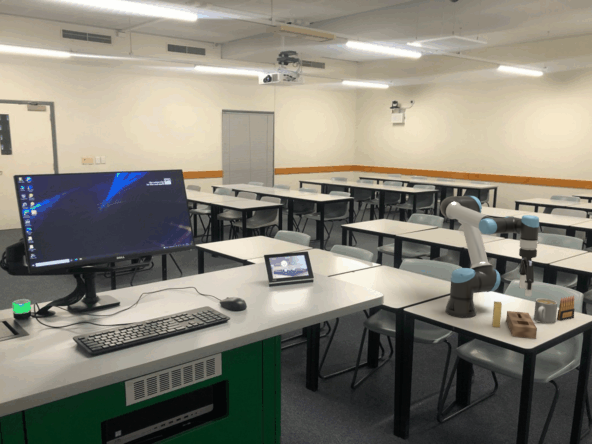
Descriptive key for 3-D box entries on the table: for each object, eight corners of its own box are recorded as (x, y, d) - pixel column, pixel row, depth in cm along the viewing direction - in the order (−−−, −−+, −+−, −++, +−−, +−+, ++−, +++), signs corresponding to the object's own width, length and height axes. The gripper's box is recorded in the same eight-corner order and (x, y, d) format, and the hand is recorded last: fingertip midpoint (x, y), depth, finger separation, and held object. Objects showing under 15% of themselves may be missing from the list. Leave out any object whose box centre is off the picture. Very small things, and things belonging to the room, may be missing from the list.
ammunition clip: (570, 316, 261) (572, 294, 259) (573, 317, 259) (576, 295, 257) (556, 319, 256) (559, 297, 254) (560, 321, 255) (562, 298, 253)
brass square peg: (492, 326, 246) (494, 303, 244) (492, 324, 249) (494, 301, 247) (499, 327, 245) (501, 303, 243) (499, 325, 248) (500, 301, 246)
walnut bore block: (512, 336, 234) (513, 326, 233) (506, 320, 255) (507, 310, 254) (536, 338, 231) (536, 328, 230) (527, 322, 252) (528, 312, 251)
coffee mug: (541, 315, 262) (543, 297, 261) (559, 321, 254) (561, 302, 252) (525, 319, 256) (527, 301, 254) (544, 326, 247) (545, 306, 246)
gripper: (543, 254, 222) (539, 300, 225) (531, 243, 246) (528, 285, 249) (525, 253, 224) (521, 299, 227) (514, 243, 248) (511, 284, 251)
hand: (525, 292), depth 238 cm, fingers open, 13 cm apart
